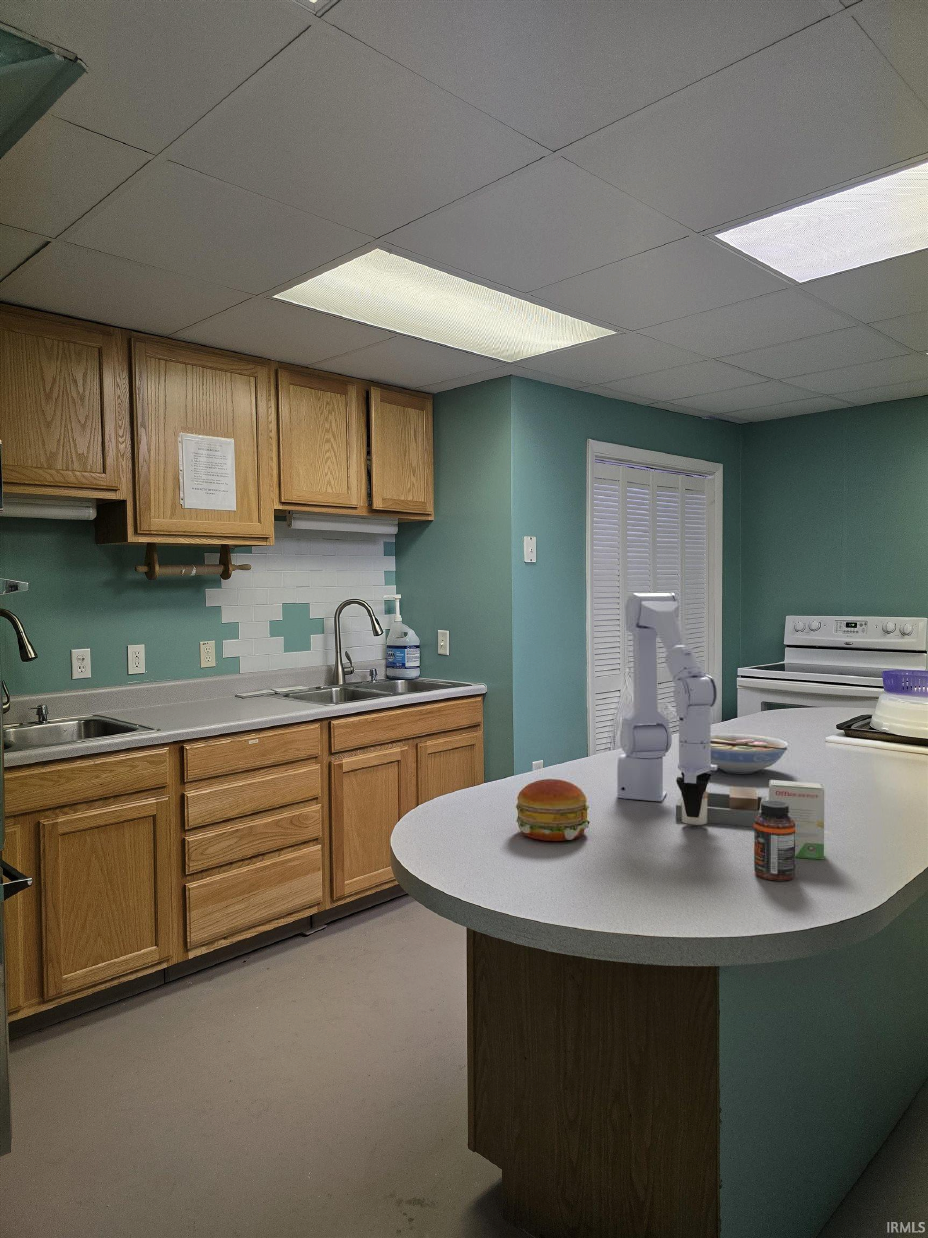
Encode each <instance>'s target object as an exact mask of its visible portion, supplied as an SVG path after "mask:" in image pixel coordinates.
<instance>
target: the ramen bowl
mask: <svg viewBox="0 0 928 1238" xmlns="http://www.w3.org/2000/svg"><path fill="white" fill-rule="evenodd" d="M788 745H789V744H788V742H787V741H785V740H782V739H779V738H776V737H775V738H774V737H771V736H770V737H769V736H763V735H754V734H742V733H739V734H737V733H711V764H712V765H717V769H721V770H722V771H723V772H725V773H726V772H727V773H730V774H738V775H750V774H751V775H752V774H754V773H755V772H757V771H761V770H764V769H766V768H770V767H772V766H773V765H774V764H776V763H777V762H779V760H780V759H781V758H782V756H783V755H784V754H785V752H786V751H787V750H788V747H789V746H788Z"/></svg>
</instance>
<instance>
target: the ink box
mask: <svg viewBox="0 0 928 1238" xmlns="http://www.w3.org/2000/svg"><path fill="white" fill-rule="evenodd" d="M768 800H775V801H782V802H785V803H787V804H788V805H789V813H788V816H790V817H791V818H792V819H793V820H794V821H795V858H799V859H813V860H825V859H824V858H825V857H824V856H825V788H824V785H823V784H822V783H815V782H806V781H805V782H804V781H802V782H801V781H790V780H778V779H777V780H776V779H769V782H768Z"/></svg>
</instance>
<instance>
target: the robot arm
mask: <svg viewBox="0 0 928 1238" xmlns="http://www.w3.org/2000/svg"><path fill="white" fill-rule="evenodd" d="M679 601H680V600H679V597H678V596H676V594H675V593H674V592H668V593H637V592H635V593H634V592H632V593H631V594H630V595H629V596H628V598H627V600H626V602H625V604H624V606H625V607H624V608H625V609H624V612H625V615H624V616H625V628H626V629H625V630H626V631H627V632H628V633H631V634H632V657H633V658H632V659H633V661H632V662H633V664H632V665H633V700H634V701H633V703H634V706H633V707H634V709H632V710H631V711H630V712H629V713H628V714H626V715H625V716H624V717H623V718H622V719H621V727H620V733H619V743H620V744H619V745H620V747H621V750H622V751H623V753H624V754H623V753H621V754H619V756H618V760H617V771H616V774H617V775H616V776H617V777H616V779H617V782H616V783H617V785H616V787H617V794H616V798H617V799H626V800H637V801H639V800H640V801H650V802H663V800H664V799H665V797H666V796H667V793H668V792H667V791H665V790H664V789H663V788H664V787H663V782H664V780H663V779H664V777H663V773H664V772H663V771H664V770H663V769H664V765H663V764H664V762H663V761H664V759H663V758H664V757H667V755H666V754H667V753H668V752H669V751H670V749H671V746H672V742H673V741H672V732H671V729H670V721H669V718H668V717H667V716H666V715H664V714H663V713H661V712H660V711H659V710H658V709H659V708H658V670H657V669H658V666H657V637H659V639H660V641H661V643H662V645H663V646H664V648H665V650H666V651H667V653H666V654H665V657H664V660H665V662H664V663H665V664H666V666H667V669H668V671H669V673H670V676H671V678H672V681H673V684H674V688H673V691H672V692H673V701H674V703H675V712H676V716H677V717H678V763H677V769H678V770H679V771H681V772H680V774H681V776H680V777H679V776H677V777H676V779H675V780H676V785H677V787H678V789H679V791H680V793H682V797H683V801H684V806H685V811H686V815H687V817H695V818H698V817H699V814H700V810H701V803H702V798H703V794H704V791H707V787H708V784H709V782H710V780H711V777H712V776H713V771H717V769H718V767H717V765H712V764H711V734H712V731H711V730H712V729H711V728H712V723H711V722H712V721H711V720H712V708H713V707H714V706H715V705H716V702H717V700H718V699H717V698H718V689H717V685H716V681H715V679H714V678H713V677H712V676H711V675H709V674H708V672H704V671H703V669H702V667H701V664H700V663H699V660H698V658H697V654H696V653H695V652H694V649H693V647H691V646H689V645H688V646H687V645H686V644H685V642H684V639H683V635H682V632H681V629H680V626H679V622H678V620H679V615H680V602H679Z"/></svg>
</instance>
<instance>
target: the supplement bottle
mask: <svg viewBox="0 0 928 1238" xmlns="http://www.w3.org/2000/svg"><path fill="white" fill-rule="evenodd" d="M788 813H789V805H788V804H787V803H785V802H782V801H775V800H769V799H768V800H766V801H763V802H761V814H759V815H758V816H756V818H755V821H754V827H753V830H754V832H753V833H754V834H753V837H754V838H753V840H754V841H753V845H754V846H753V849H754V850H753V854H754V855H753V864H754V867H753V869H754V873H755V874H756V876H758V877H759V878H762V879H764V880H768V881H776V882H786V881H790V880H792V879H794V878H795V875H796V857H795V821H794V820H793V819H792V818H791V817H790V816H788Z"/></svg>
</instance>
